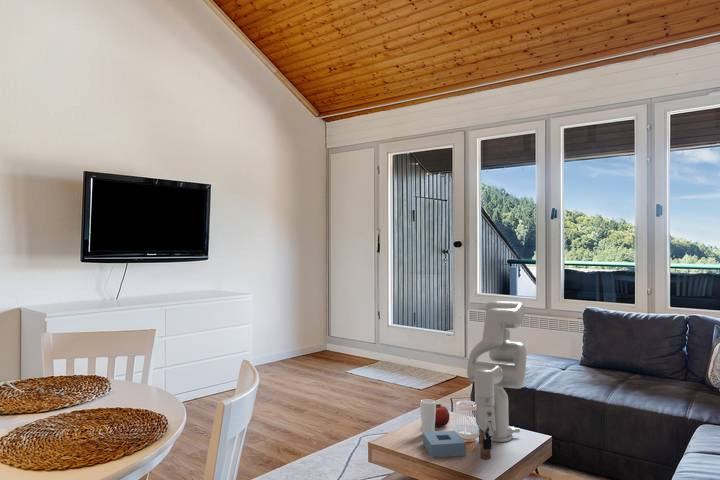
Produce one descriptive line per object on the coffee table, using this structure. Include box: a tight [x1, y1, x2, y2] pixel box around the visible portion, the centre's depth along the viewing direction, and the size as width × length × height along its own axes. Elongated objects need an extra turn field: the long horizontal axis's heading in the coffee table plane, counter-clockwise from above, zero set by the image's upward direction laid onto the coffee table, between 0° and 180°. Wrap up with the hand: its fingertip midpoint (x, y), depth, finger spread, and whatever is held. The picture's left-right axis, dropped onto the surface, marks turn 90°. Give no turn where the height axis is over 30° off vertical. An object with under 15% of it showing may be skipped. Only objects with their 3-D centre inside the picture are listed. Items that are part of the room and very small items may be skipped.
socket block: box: [422, 430, 467, 458], centre depth 215 cm, size 14×14×5 cm
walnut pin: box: [479, 429, 492, 460], centre depth 207 cm, size 4×4×12 cm
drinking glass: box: [419, 398, 437, 435], centre depth 232 cm, size 7×7×15 cm
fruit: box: [435, 403, 450, 427], centre depth 243 cm, size 11×10×10 cm
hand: (485, 446), depth 207 cm, fingers closed on walnut pin, 4 cm apart
